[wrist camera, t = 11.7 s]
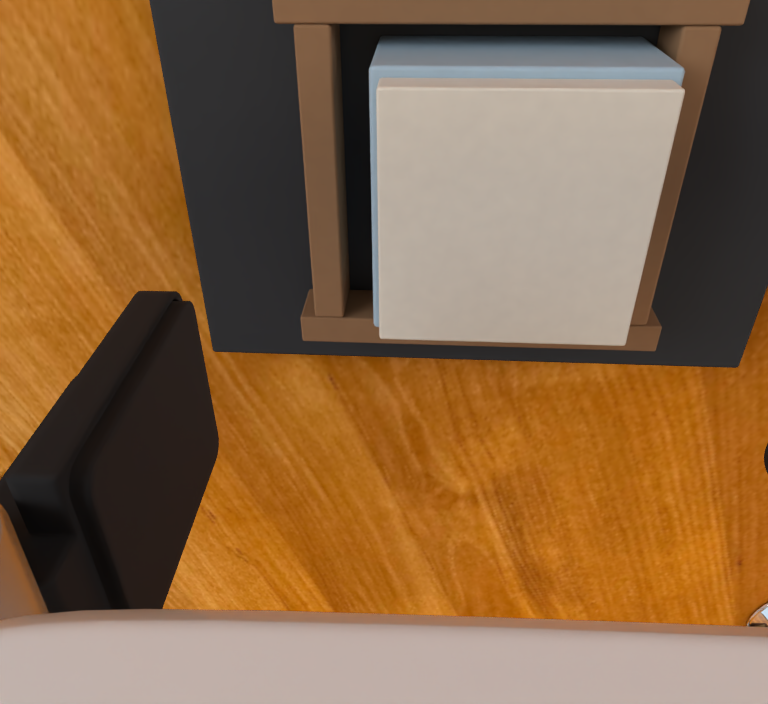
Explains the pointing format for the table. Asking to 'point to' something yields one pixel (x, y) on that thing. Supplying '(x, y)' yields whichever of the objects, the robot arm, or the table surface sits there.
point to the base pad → (353, 169)
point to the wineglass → (759, 617)
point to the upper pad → (516, 184)
